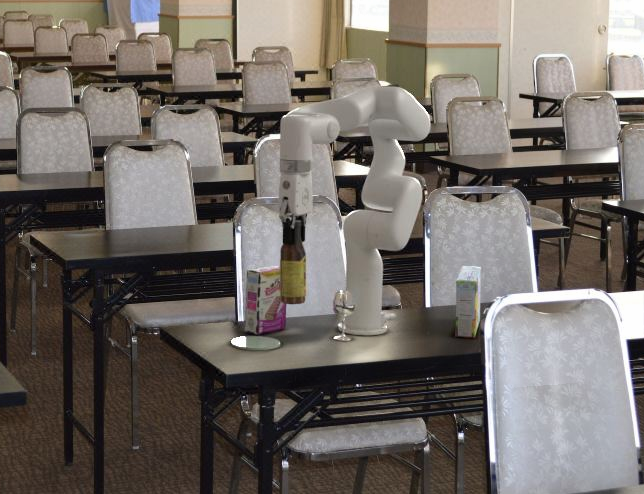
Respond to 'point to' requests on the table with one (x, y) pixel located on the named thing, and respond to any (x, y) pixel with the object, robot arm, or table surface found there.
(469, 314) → the snack box
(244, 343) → the coaster
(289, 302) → the sauce bottle
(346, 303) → the wineglass
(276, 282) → the candy bar box
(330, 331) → the table surface
